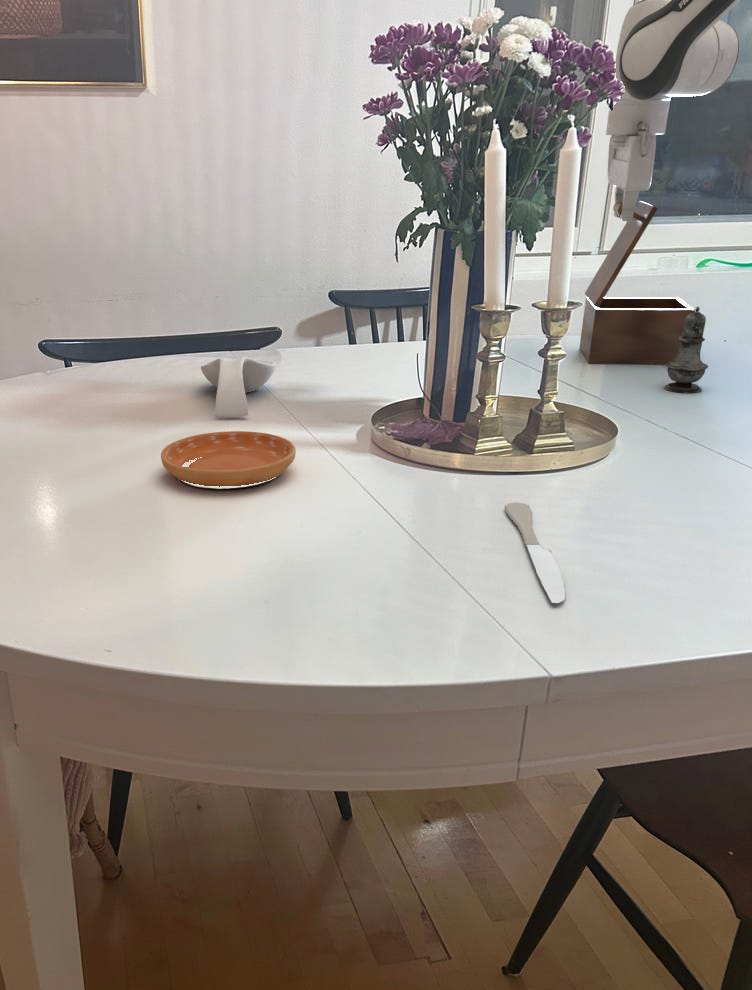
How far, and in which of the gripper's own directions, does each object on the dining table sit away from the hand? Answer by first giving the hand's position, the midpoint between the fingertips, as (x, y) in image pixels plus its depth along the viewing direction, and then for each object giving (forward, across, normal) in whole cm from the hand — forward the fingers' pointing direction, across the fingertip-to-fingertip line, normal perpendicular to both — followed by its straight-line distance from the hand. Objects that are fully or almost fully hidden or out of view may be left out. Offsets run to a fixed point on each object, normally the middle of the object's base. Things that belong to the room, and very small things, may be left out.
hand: (622, 218), depth 153 cm
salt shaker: (+22, -23, -9) cm, 33 cm away
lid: (+5, 0, -1) cm, 5 cm away
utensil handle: (+22, -89, +18) cm, 94 cm away
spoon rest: (+22, -34, +58) cm, 71 cm away
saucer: (+22, -69, +52) cm, 89 cm away
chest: (+22, 0, -4) cm, 22 cm away
